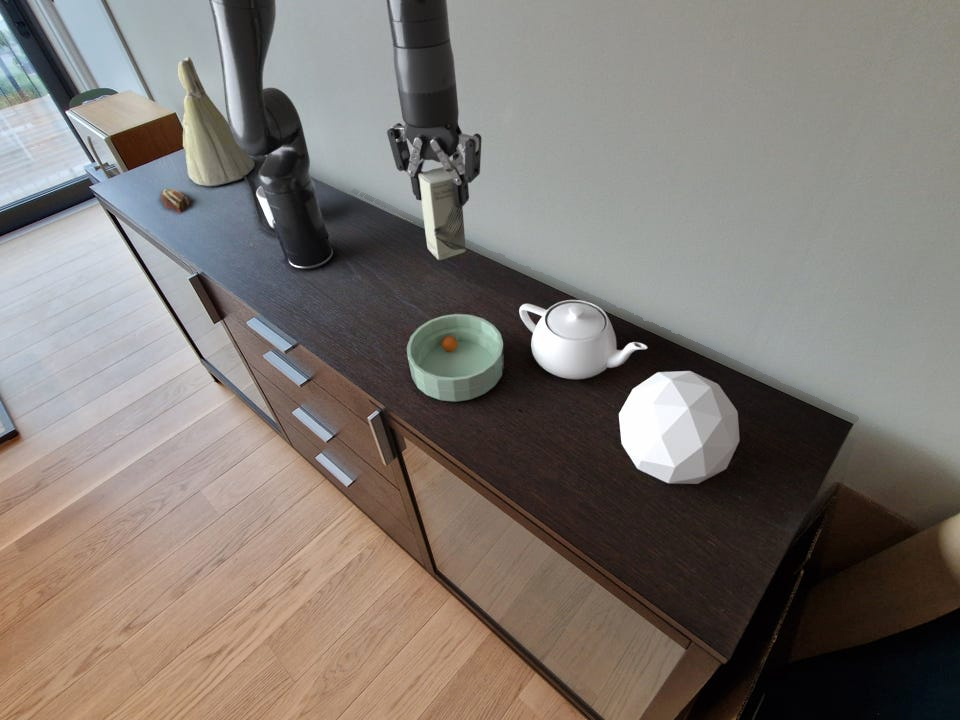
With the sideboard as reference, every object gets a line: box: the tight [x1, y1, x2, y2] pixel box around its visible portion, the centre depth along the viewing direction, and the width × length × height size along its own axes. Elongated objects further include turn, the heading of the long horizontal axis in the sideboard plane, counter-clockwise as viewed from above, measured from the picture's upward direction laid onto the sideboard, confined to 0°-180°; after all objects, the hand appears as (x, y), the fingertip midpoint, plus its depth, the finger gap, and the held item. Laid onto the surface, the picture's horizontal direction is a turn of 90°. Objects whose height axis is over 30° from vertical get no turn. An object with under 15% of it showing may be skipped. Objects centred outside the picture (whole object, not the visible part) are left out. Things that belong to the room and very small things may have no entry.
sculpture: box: [177, 55, 255, 187], centre depth 136 cm, size 17×18×30 cm
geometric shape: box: [618, 370, 740, 485], centre depth 68 cm, size 14×15×15 cm
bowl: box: [406, 313, 505, 403], centre depth 86 cm, size 15×15×6 cm
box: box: [418, 166, 467, 261], centre depth 80 cm, size 5×4×13 cm
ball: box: [442, 337, 458, 352], centre depth 89 cm, size 3×3×3 cm
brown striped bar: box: [160, 188, 191, 213], centre depth 135 cm, size 14×6×2 cm, turn 49°
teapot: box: [518, 299, 649, 380], centre depth 84 cm, size 22×14×11 cm, turn 54°
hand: (441, 201), depth 79 cm, fingers closed on box, 6 cm apart
